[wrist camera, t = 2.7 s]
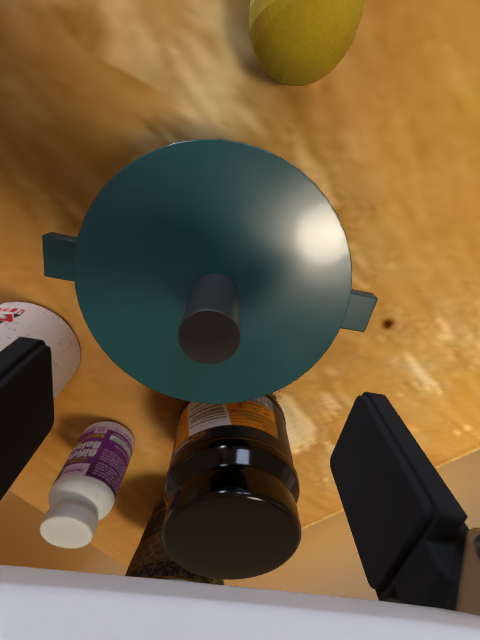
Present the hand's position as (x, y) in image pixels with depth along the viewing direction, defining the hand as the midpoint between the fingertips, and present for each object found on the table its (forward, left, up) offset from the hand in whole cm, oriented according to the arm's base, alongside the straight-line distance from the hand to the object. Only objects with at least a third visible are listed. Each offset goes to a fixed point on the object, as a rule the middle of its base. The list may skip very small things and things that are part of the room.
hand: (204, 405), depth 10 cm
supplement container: (+16, +4, -18) cm, 24 cm away
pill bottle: (+21, -8, -18) cm, 28 cm away
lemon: (-14, +2, -18) cm, 23 cm away
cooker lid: (0, 0, -10) cm, 10 cm away
